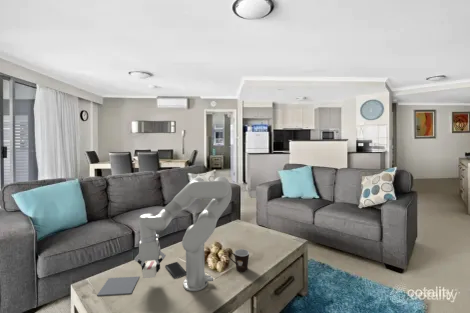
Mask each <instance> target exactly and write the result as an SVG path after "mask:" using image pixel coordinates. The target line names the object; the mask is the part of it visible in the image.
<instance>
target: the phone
mask: <svg viewBox="0 0 470 313" xmlns="http://www.w3.org/2000/svg"><path fill="white" fill-rule="evenodd" d="M164 268H165V269H166V270H167V272H168V273H169V274H170V276H171V277H172V278H173V279H179V278H182V277H184V276H186V269H184V267H182V266H181V264H180V263H179V262H178V261H175V262H171V263H168V264H165V265H164Z"/></svg>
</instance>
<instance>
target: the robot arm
mask: <svg viewBox="0 0 470 313" xmlns="http://www.w3.org/2000/svg"><path fill="white" fill-rule="evenodd" d="M232 192H233V189H232V185H231V182H230V181H229V180H228V178H226V177H225V176H223V175H222V176H218V177H215V178H214V180H208V181H207V180H205V179H203V178H201V177H194V178H193V179H192V180H190V181H189V182H188V183H187V184H186V185H185V186H184V187H183V188H182V189H181V190H180V191H179V192H178V193H176V195H175V196H174V197H173V199H172V200H171V201H169V202H168V204H167V205H165V206H164V207H163V208H162V209H161V211H160V212H158V213H157V214H156V215H154V214H153V213H143V214H141V215H140V216H138V228H139V236H140V237H139V238H140V240H139V244H138V245H139V246H138V254H137V255H136V256H135V257H134V261H135V262H137V263H138V264H139V266H140V267H141V271H142V270H143V268H144V267H145V265H146V263H145V262H148V261H156V263H157V264H156V269H157V273H159V271H160V270H161V263H162V261H163V260H164V259H165V258H166V254H165V253H164V252H162V251H161V246H160V241H159V237H160V235H159V234H157V233H156V232H157V231H164V230H165V229H166V228H168V225H169V224H170V223H171V221H172V220H173V219H175V217H176V216H177V215H178V214H180V212H181V211H184V210H186V209H188V208H189V207H190V206H191V205H192V204H193V203H194V202H195V201H196V200H209V199H211V200H210V201H209V202H208V204H207V205H206V206H205V208H204V209H203V210H202V211H201V212H200V213H199V215H198V217H197V220H196V221H195V223H193V224H191V225H189V226H188V227H187V229H186V231H185V233H184V235H183V237H182V240H181V241H182V242H181V244H182V248H183V250H184V251H185V271H186V275H185V279H184V280H183V282H182V283H183V284H182V286H183V288H184V289H185V290H187V291H189V292H199V291H202V290H203V289H205V288H206V287H207V286H208V282H214V276H212V275H211V274H208V275H207V274H206V272H205V244H206V242H207V241H208V239H209V238H210V237H211V235H213V233H214V231H215V230H216V228H217V227H216V226H217V222H218V220H219V218H221V216H222V215H223V213H224V211H226V209H227V208H228V206H229V204H230V202H231V199H232V194H233V193H232Z"/></svg>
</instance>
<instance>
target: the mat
mask: <svg viewBox="0 0 470 313" xmlns="http://www.w3.org/2000/svg"><path fill="white" fill-rule="evenodd" d="M139 279H140V276H139V275H138V276H122V277H121V276H120V277H109V278H107V280H106V281H105V283H104V284H103V285H102V287H101V288H100V290H99V292H98V293H97V297H99V296H100V297H102V296H116V295H117V296H119V295H132V293H133V292H134V289H135V287H136V285H137V283H138V281H139Z"/></svg>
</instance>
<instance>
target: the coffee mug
mask: <svg viewBox="0 0 470 313" xmlns="http://www.w3.org/2000/svg"><path fill="white" fill-rule="evenodd" d="M230 255H232V256H234V260H235V261H234V260H233V259H232V257H230ZM228 258H229V259H230V261H231V262H233V263H234V264H235V270H236V271H237V272H239V273H244V272H246V271H248V266H249V258H250V252H249V250H248V249H244V248H239V249H236V250H235V251H234V252H230V253H228Z"/></svg>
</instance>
